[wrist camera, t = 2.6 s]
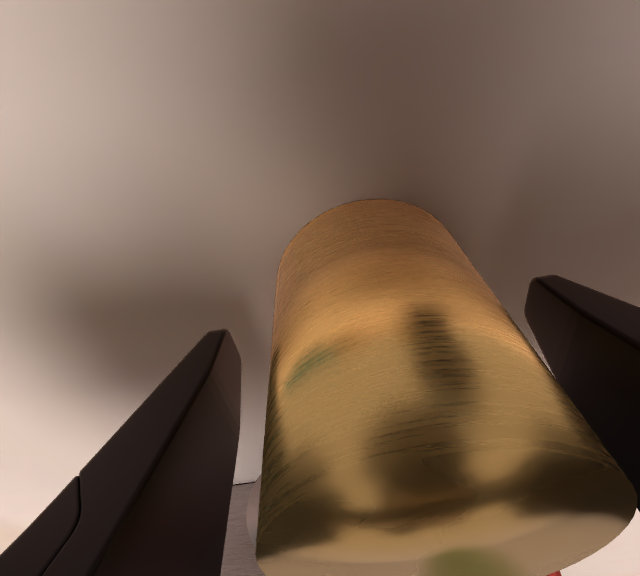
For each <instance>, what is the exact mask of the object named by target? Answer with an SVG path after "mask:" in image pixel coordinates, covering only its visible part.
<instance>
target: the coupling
mask: <svg viewBox="0 0 640 576" xmlns="http://www.w3.org/2000/svg"><path fill="white" fill-rule="evenodd" d="M636 508H637V494H636V491H635V489H634V487H633V485H632V483H631V482H630V481H629V479H628V478H627V476H626V475H625V474H624V472H623V471H622V470H621V468H620V467H619V465H618V464H617V463H616V461H615V460H614V459H613V457H612V456H611V454H610V453H609V452H608V450H607V449H606V448H605V446H604V445H603V443H602V442H601V441H600V439H599V438H598V437H597V435H596V434H595V432H594V431H593V430H592V428H591V427H590V426H589V424H588V423H587V421H586V420H585V419H584V417H583V416H582V415H581V413H580V412H579V410H578V409H577V408H576V406H575V405H574V404H573V402H572V401H571V399H570V398H569V397H568V395H567V394H566V393H565V391H564V390H563V389H562V387H561V386H560V384H559V383H558V382H557V380H556V379H555V378H554V376H553V375H552V373H551V372H550V371H549V369H548V368H547V367H546V365H545V364H544V362H543V361H542V360H541V358H540V357H539V356H538V354H537V353H536V351H535V350H534V349H533V347H532V346H531V345H530V343H529V342H528V340H527V339H526V338H525V336H524V335H523V334H522V332H521V331H520V329H519V328H518V327H517V325H516V324H515V323H514V321H513V320H512V318H511V317H510V316H509V314H508V313H507V312H506V310H505V309H504V307H503V306H502V305H501V303H500V302H499V301H498V299H497V298H496V296H495V295H494V294H493V292H492V291H491V290H490V288H489V287H488V286H487V284H486V283H485V281H484V280H483V279H482V277H481V276H480V275H479V273H478V272H477V270H476V269H475V268H474V266H473V265H472V264H471V262H470V261H469V259H468V258H467V257H466V255H465V254H464V253H463V251H462V250H461V248H460V247H459V246H458V244H457V243H456V242H455V240H454V239H453V237H452V236H451V235H450V233H449V232H448V231H447V229H446V228H445V227H444V226H443V225H442V223H441V222H439V221H438V220H437V219H436V218H435V217H434V216H432V215H431V214H429V213H428V212H426V211H424V210H423V209H421V208H418V207H416V206H414V205H411V204H408V203H404V202H401V201H395V200H388V199H369V200H360V201H355V202H351V203H347V204H343V205H341V206H338V207H335V208H333V209H331V210H329V211H327V212H325V213H323V214H321V215H319V216H318V217H316V218H315V219H313V220H312V221H311V222H309V223H308V224H307V225H306V226H305V227H304V228H302V229H301V230H300V231H299V232H298V233H297V235H296V236H295V237H294V238H293V239H292V241H291V242H290V244H289V245H288V247H287V248H286V250H285V252H284V254H283V256H282V259H281V261H280V265H279V269H278V274H277V284H276V297H275V310H274V322H273V335H272V348H271V360H270V373H269V386H268V398H267V411H266V424H265V436H264V449H263V462H262V474H261V487H260V500H259V512H258V525H257V538H256V550H255V555H256V560H257V564H258V565H259V567H260V569H261V571H262V572H263V573H264V574H265V575H266V576H546V575H549V574H551V573H554V572H556V571H559V570H561V569H564V568H566V567H568V566H570V565H572V564H575V563H577V562H579V561H581V560H583V559H584V558H586V557H588V556H590V555H592V554H593V553H595V552H597V551H598V550H600V549H601V548H603V547H604V546H606V545H607V544H608V543H610V542H611V541H612V540H613V539H615V538H616V537H617V536H618V535H619V534H620V533H621V532H622V531H623V530H624V529H625V528H626V527H627V526H628V524H629V523H630V521H631V520H632V518H633V516H634V514H635V511H636Z"/></svg>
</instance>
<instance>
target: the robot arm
mask: <svg viewBox="0 0 640 576" xmlns="http://www.w3.org/2000/svg"><path fill="white" fill-rule="evenodd" d="M525 316H526V319H527V322H528V324H529V326H530V328H531V330H532V332H533V334H534V336H535V338H536V340H537V342H538V344H539V346H540V348H541V350H542V352H543V354H544V356H545V359H546V361H547V363H548V365H549V367H550V369H551V371H552V373H553V375H554V377H555V378H556V380H557V382H558V383H559V384H560V386H561V387H562V389H563V390H564V391H565V393H566V394H567V395H568V397H569V398H570V399H571V401H572V402H573V404H574V405H575V406H576V408H577V409H578V410H579V412H580V413H581V415H582V416H583V417H584V419H585V420H586V421H587V423H588V424H589V426H590V427H591V428H592V430H593V431H594V432H595V434H596V435H597V437H598V438H599V439H600V441H601V442H602V443H603V445H604V446H605V448H606V449H607V450H608V452H609V453H610V454H611V456H612V457H613V459H614V460H615V461H616V463H617V464H618V465H619V467H620V468H621V470H622V471H623V472H624V474H625V475H626V476H627V478H628V479H629V481H630V482H631V483H632V485H633V487H634V489H635V491H636V494H637V508H638V510H639V512H640V308H639V307H637V306H634V305H631V304H629V303H626V302H624V301H621V300H619V299H616V298H613V297H611V296H608V295H606V294H603V293H601V292H598V291H595V290H593V289H590V288H588V287H585V286H583V285H580V284H577V283H575V282H572V281H570V280H567V279H565V278H562V277H559V276H557V275H547V276H541V277H536V278H534V279H532V281H531V282H530V285H529V290H528V295H527V299H526V304H525ZM240 404H241V359H240V355H239V352H238V350H237V348H236V346H235V343H234V341H233V339H232V336H231V334H230V332H229V331H228V330H226V329H221V330H215V331H210V332H208V333H207V334H206V335H205V336H204V337H203V338H202V339H201V340H200V341H199V342H198V343H197V344H196V346H195V347H194V348H193V349H192V350H191V351H190V352H189V353H188V354H187V355H186V356H185V358H184V359H183V360H182V361H181V362H180V363H179V364H178V365H177V366H176V367H175V368H174V370H173V371H172V372H171V373H170V374H169V375H168V376H167V377H166V378H165V379H164V380H163V382H162V383H161V384H160V385H159V386H158V387H157V388H156V389H155V390H154V391H153V392H152V394H151V395H150V396H149V397H148V398H147V399H146V400H145V401H144V402H143V403H142V404H141V406H140V407H139V408H138V409H137V410H136V411H135V412H134V413H133V414H132V415H131V416H130V418H129V419H128V420H127V421H126V422H125V423H124V424H123V425H122V426H121V427H120V428H119V430H118V431H117V432H116V433H115V434H114V435H113V436H112V437H111V438H110V439H109V441H108V442H107V443H106V444H105V445H104V446H103V447H102V448H101V449H100V450H99V451H98V453H97V454H96V455H95V456H94V457H93V458H92V459H91V460H90V461H89V462H88V463H87V465H86V466H85V467H84V468H83V469H82V470H81V471H80V473H79V476H76V477H74V478H73V480H72V481H71V482H70V483H69V484H68V485H67V486H66V487H65V488H64V489H63V490H62V492H61V493H60V494H59V495H58V496H57V497H56V498H55V499H54V500H53V501H52V502H51V503H50V504H49V505H48V507H47V508H46V509H45V510H44V511H43V512H42V513H41V514H40V515H39V516H38V517H37V518H36V519H35V520H34V521H33V522H32V523H31V525H30V526H29V527H28V528H27V529H26V530H25V531H24V532H23V533H22V534H21V535H20V536H19V537H18V538H17V539H16V540H15V541H14V542H13V543H12V544H11V545H10V546H9V547H8V548H7V549H6V550H5V551H4V552H3V553H2V554H1V555H0V576H221V568H222V561H223V553H224V546H225V538H226V531H227V523H228V516H229V508H230V501H231V493H232V486H233V479H234V471H235V464H236V456H237V449H238V441H239V432H240Z"/></svg>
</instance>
